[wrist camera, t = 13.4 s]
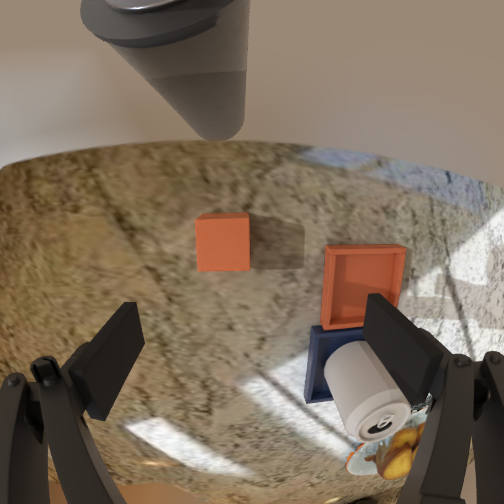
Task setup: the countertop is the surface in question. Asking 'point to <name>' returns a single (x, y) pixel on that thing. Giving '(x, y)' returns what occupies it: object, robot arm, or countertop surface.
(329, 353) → the navy tray
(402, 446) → the food on plate
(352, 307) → the terracotta tray
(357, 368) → the can
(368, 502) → the stone bowl
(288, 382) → the countertop surface
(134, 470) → the countertop surface
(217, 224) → the block
